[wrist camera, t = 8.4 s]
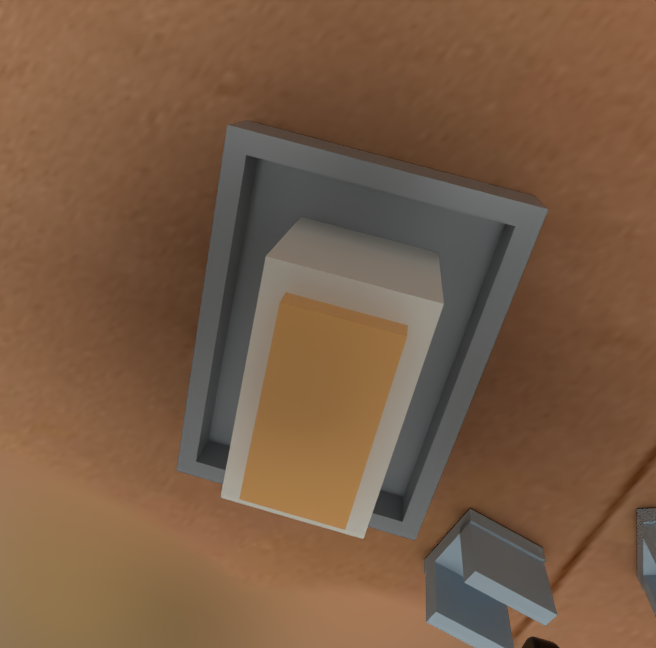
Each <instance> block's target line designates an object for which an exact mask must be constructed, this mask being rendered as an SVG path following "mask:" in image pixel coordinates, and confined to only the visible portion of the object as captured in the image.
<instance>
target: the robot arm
mask: <svg viewBox="0 0 656 648" xmlns="http://www.w3.org/2000/svg"><path fill="white" fill-rule="evenodd" d="M522 648H559V647H558V646H557V645H556V644H555V643H553V642H550V641H547V640H544V639H540V638H537V637H530V638H528V639H527V640H526V641H525V643H524V645H523V647H522Z"/></svg>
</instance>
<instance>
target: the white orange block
mask: <svg viewBox="0 0 656 648" xmlns="http://www.w3.org/2000/svg"><path fill="white" fill-rule="evenodd" d="M443 305H444V301H443V291H442V282H441V272H440V263H439V253H437V252H433V251H429V250H425V249H422V248H418V247H414V246H410V245H406V244H403V243H399V242H395V241H391V240H387V239H384V238H380V237H376V236H372V235H369V234H365V233H361V232H357V231H353V230H350V229H346V228H342V227H338V226H335V225H331V224H327V223H323V222H319V221H316V220H312V219H308V218H304V217H300V219H299V220H298V221H297V222H296V223H295V224H294V225H293V226H292V227H291V229H290V230H289V231H288V232H287V233H286V234H285V235H284V236H283V238H282V239H281V240H280V241H279V242H278V243H277V244H276V245H275V246H274V248H273V249H272V250H271V251H270V252H269V253H268V254H267V255H266V258H265V263H264V269H263V274H262V279H261V285H260V290H259V295H258V301H257V306H256V311H255V316H254V322H253V327H252V332H251V338H250V343H249V348H248V354H247V359H246V364H245V370H244V375H243V380H242V386H241V391H240V396H239V402H238V407H237V412H236V418H235V423H234V428H233V434H232V439H231V444H230V450H229V455H228V460H227V466H226V471H225V476H224V482H223V487H222V492H221V498H224V499H227V500H230V501H234V502H237V503H241V504H244V505H248V506H251V507H255V508H258V509H261V510H265V511H268V512H272V513H275V514H279V515H282V516H286V517H289V518H292V519H296V520H299V521H303V522H306V523H310V524H313V525H317V526H320V527H323V528H327V529H330V530H334V531H337V532H341V533H344V534H348V535H351V536H354V537H358V538H361V539H364V536H365V533H366V530H367V527H368V524H369V521H370V519H371V516H372V513H373V510H374V507H375V504H376V501H377V498H378V495H379V492H380V489H381V486H382V483H383V481H384V478H385V475H386V472H387V469H388V466H389V463H390V460H391V457H392V454H393V451H394V448H395V445H396V443H397V440H398V437H399V434H400V431H401V428H402V425H403V422H404V419H405V416H406V413H407V410H408V407H409V405H410V402H411V399H412V396H413V393H414V390H415V387H416V384H417V381H418V378H419V375H420V372H421V369H422V366H423V364H424V361H425V358H426V355H427V352H428V349H429V346H430V343H431V340H432V337H433V334H434V331H435V328H436V326H437V323H438V320H439V317H440V314H441V311H442V308H443Z"/></svg>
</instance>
